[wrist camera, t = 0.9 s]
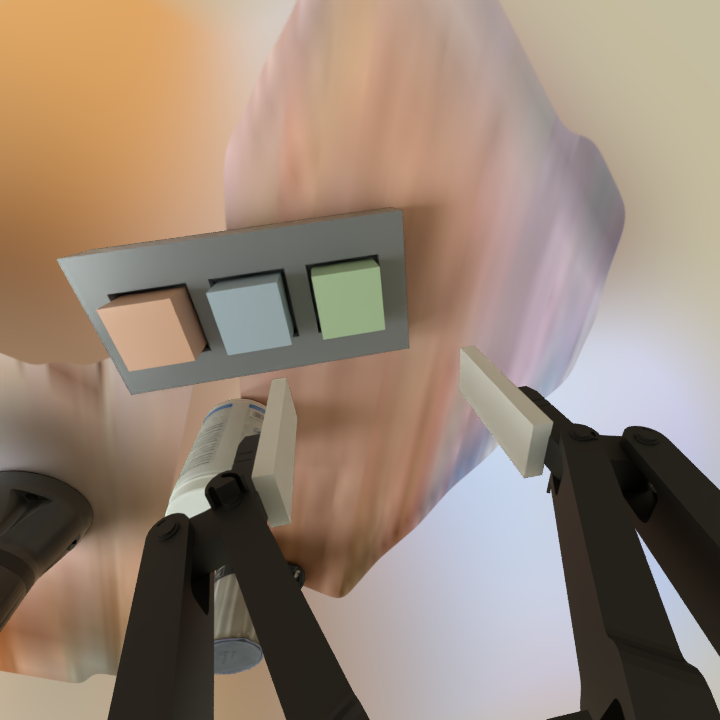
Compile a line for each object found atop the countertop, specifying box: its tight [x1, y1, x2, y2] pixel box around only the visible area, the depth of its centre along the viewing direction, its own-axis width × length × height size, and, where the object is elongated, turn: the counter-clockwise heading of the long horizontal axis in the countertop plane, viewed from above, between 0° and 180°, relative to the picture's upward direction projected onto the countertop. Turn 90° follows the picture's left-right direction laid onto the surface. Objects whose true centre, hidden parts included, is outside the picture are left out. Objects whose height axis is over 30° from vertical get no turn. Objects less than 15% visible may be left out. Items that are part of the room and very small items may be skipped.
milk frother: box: [214, 563, 305, 674], centre depth 51 cm, size 14×16×15 cm
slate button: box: [206, 272, 294, 355], centre depth 31 cm, size 6×6×4 cm
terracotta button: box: [96, 286, 207, 372], centre depth 30 cm, size 6×6×4 cm
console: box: [57, 207, 409, 395], centre depth 34 cm, size 30×14×5 cm, turn 97°
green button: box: [311, 258, 385, 340], centre depth 31 cm, size 6×6×4 cm
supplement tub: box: [165, 399, 266, 518], centre depth 37 cm, size 10×10×15 cm
